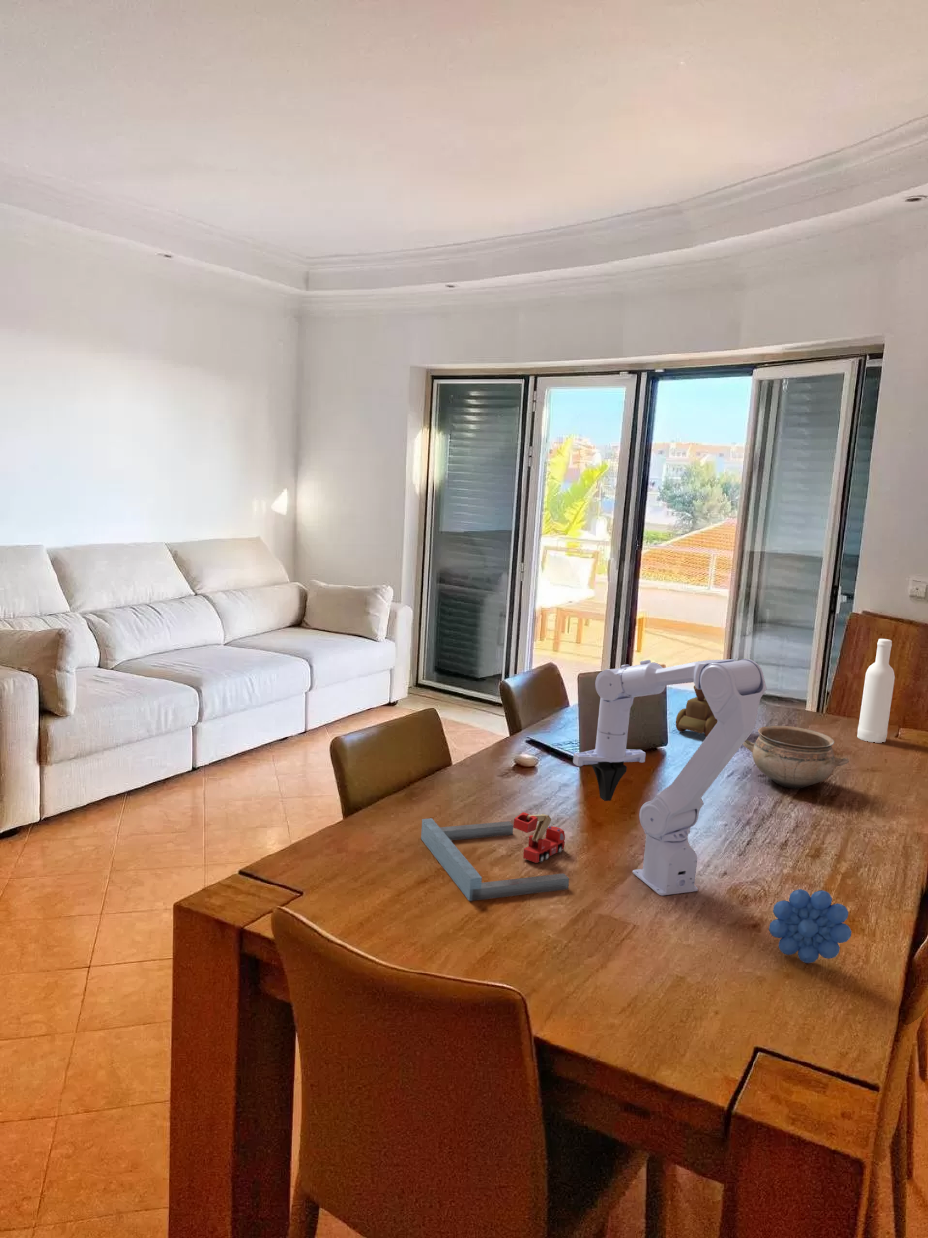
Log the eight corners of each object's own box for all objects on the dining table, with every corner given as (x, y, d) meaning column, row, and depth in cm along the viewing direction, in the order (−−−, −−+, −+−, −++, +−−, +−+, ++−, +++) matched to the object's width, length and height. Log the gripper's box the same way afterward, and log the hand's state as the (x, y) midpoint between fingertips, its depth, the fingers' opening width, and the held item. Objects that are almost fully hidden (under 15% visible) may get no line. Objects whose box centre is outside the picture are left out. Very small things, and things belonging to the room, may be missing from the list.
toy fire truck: (566, 850, 172) (570, 802, 170) (524, 872, 162) (528, 821, 160) (551, 845, 174) (555, 797, 173) (509, 866, 164) (513, 815, 162)
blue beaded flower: (851, 963, 137) (861, 890, 135) (842, 982, 131) (852, 906, 129) (773, 938, 143) (782, 867, 141) (761, 955, 138) (771, 882, 136)
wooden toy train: (702, 721, 272) (707, 668, 270) (737, 730, 265) (744, 675, 262) (670, 733, 257) (676, 677, 255) (707, 743, 250) (714, 685, 247)
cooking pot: (848, 784, 222) (854, 736, 220) (840, 806, 205) (847, 755, 204) (745, 763, 233) (750, 718, 231) (729, 783, 217) (735, 734, 215)
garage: (568, 889, 156) (570, 867, 155) (469, 901, 149) (470, 878, 148) (508, 830, 180) (510, 811, 179) (421, 838, 173) (422, 819, 172)
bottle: (887, 739, 266) (902, 640, 261) (884, 745, 259) (898, 643, 254) (858, 733, 270) (872, 636, 265) (854, 739, 263) (868, 639, 258)
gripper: (634, 723, 175) (627, 789, 177) (568, 725, 170) (562, 793, 172) (654, 734, 169) (646, 802, 171) (586, 737, 163) (579, 807, 166)
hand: (605, 799), depth 171 cm, fingers closed
